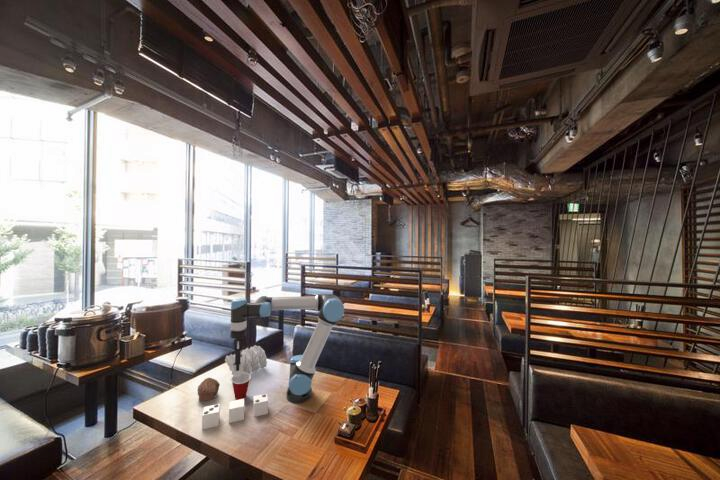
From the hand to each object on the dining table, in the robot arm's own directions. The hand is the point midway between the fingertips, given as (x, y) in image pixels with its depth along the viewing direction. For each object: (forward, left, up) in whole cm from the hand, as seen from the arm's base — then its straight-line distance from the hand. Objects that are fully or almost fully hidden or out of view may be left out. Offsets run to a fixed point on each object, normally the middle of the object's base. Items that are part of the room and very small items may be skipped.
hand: (237, 373), depth 137 cm
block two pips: (-10, -6, -23) cm, 26 cm away
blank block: (0, 0, -23) cm, 23 cm away
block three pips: (+10, +6, -23) cm, 26 cm away
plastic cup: (+7, -16, -23) cm, 29 cm away
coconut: (+26, -14, -23) cm, 38 cm away
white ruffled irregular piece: (+17, -42, -23) cm, 51 cm away
